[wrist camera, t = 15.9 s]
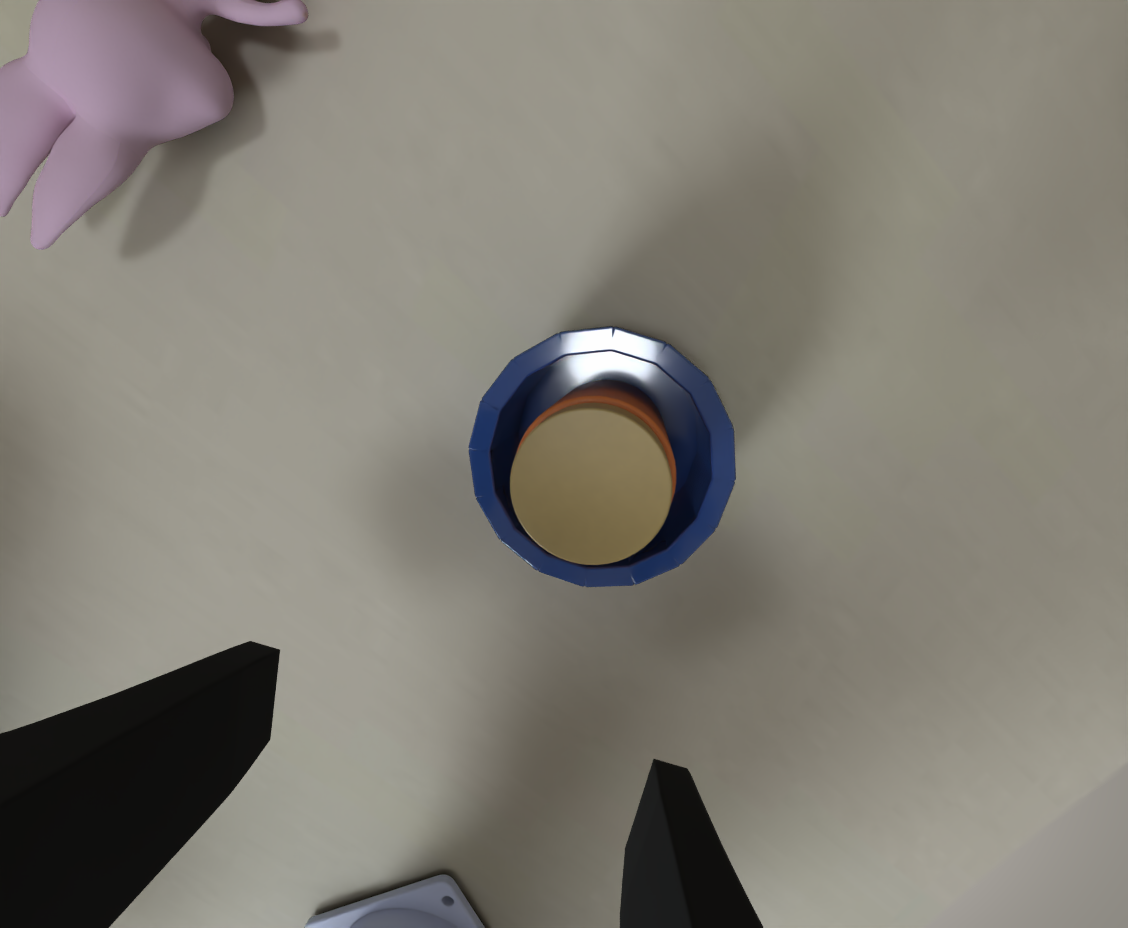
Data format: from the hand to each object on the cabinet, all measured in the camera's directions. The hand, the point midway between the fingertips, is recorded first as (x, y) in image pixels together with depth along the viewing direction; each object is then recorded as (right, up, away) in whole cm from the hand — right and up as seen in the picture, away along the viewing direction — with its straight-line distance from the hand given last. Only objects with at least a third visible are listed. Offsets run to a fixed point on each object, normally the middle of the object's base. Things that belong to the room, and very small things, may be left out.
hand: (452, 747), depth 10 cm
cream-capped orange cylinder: (+3, +6, +8) cm, 10 cm away
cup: (+3, +6, +8) cm, 11 cm away
